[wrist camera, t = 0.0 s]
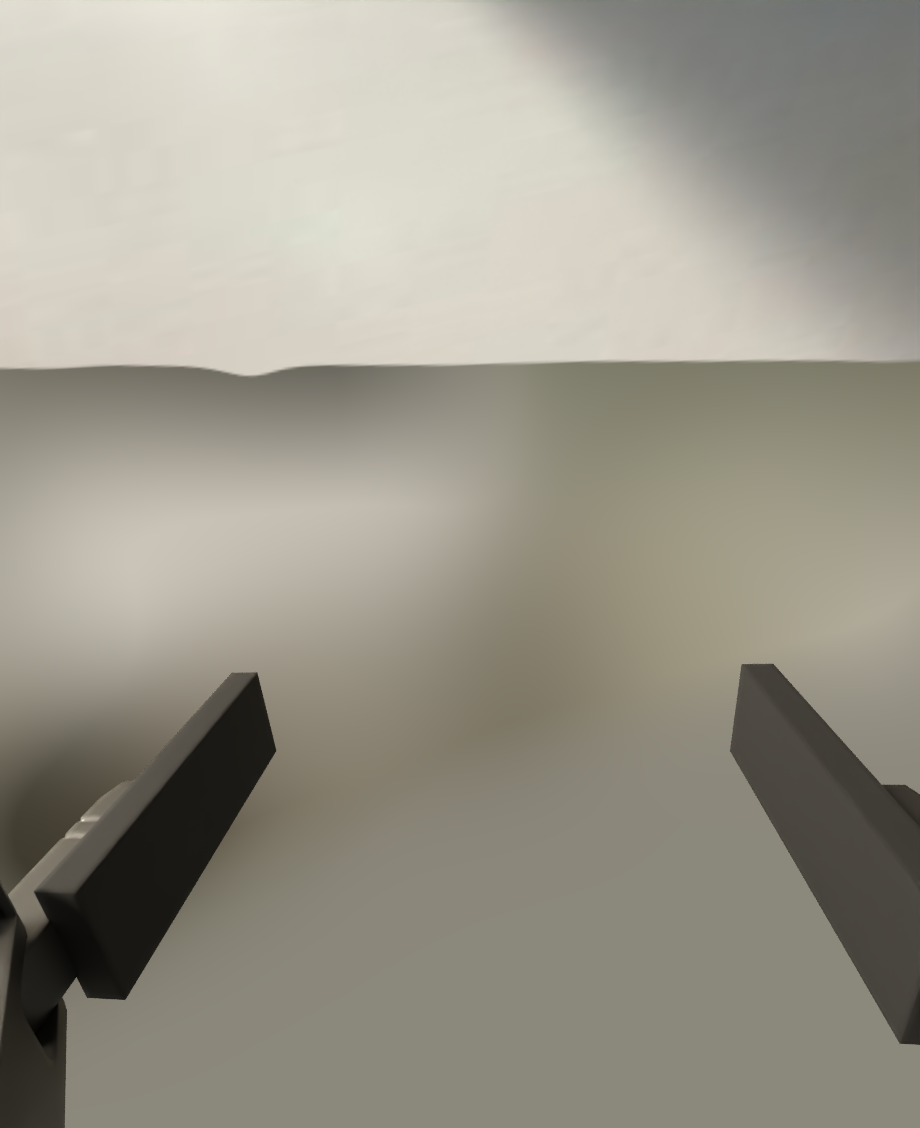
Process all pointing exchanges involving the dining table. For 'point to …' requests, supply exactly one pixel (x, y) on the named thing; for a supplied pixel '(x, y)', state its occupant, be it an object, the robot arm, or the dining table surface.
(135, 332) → the dining table surface
